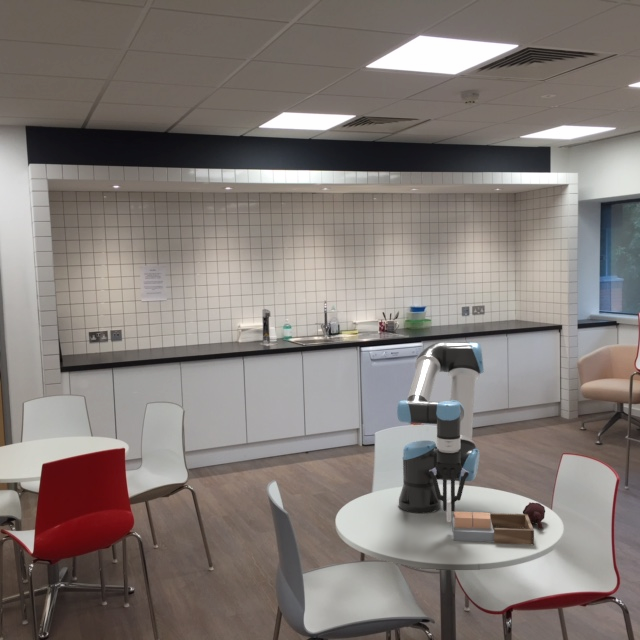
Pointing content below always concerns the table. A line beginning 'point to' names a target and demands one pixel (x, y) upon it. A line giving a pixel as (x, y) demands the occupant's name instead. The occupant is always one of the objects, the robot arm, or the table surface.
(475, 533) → the board
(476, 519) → the tile
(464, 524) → the tile
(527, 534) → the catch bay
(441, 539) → the table surface
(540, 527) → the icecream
